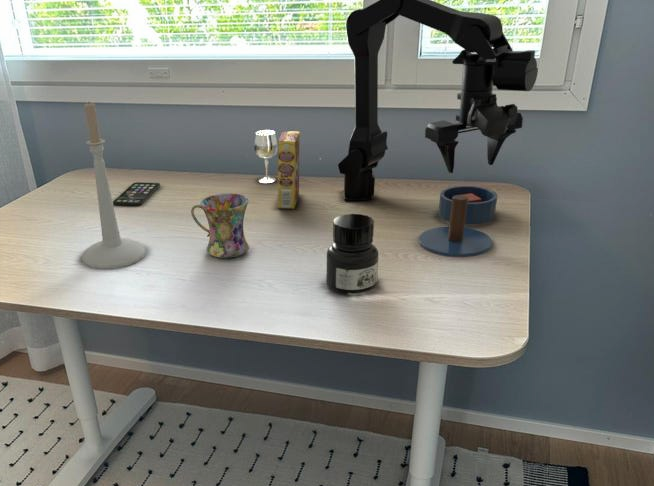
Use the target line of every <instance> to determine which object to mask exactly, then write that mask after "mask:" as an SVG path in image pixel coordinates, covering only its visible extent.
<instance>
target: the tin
mask: <svg viewBox="0 0 654 486" xmlns="http://www.w3.org/2000/svg"><path fill="white" fill-rule="evenodd" d="M470 193H472V194H474V195H476V196H477V197H479V198H481V199H482V201H481V202H477V203H467V211H466V219H465V225H469V226H471V225H481V224H486V223H489V222H491V221H492V220H494V218H495V215H496V209H497V203H498V197H499V195H498V194H497V192H496V191H494V190H492V189H490V188H487V187H483V186H475V185H457V186H456V185H455V186H451V187H447V188H444V189H442V190H441V191H440V193H439V199H438V200H439V201H438V210H437V215H438V216H439V218H440V219H442V220H443V221H445V222H448V223H450V216H451V207H452V199H453V196H455V195H463V194H470Z"/></svg>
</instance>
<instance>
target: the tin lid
mask: <svg viewBox="0 0 654 486" xmlns="http://www.w3.org/2000/svg"><path fill="white" fill-rule="evenodd" d="M467 203H468V197H467V196H464V195H455V196H453V199H452V207H451V216H450V222H449V226H439V227H433V228H430V229H427V230H425V231H423V232H422V233H420V235H419V236H418V243H419V245H420V247H422V248H423V249H424V250H426V251H428V252H430V253H432V254H437V255H441V256H447V257H457V258H458V257H459V258H461V257H473V256H479V255H482V254H484V253H487V252H488V251H490V249H492V246H493V239H492V238H491V236H490V235H489V234H487V233H485V232H484V231H481V230H478V229H474V228H470V227H465V225H466V224H465V219H466V211H467Z"/></svg>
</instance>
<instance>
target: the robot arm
mask: <svg viewBox="0 0 654 486" xmlns="http://www.w3.org/2000/svg"><path fill="white" fill-rule="evenodd" d="M399 16H401V17H404V18H406V19H408V20H410V21H413V22H415V23H419V24H421V25H423V26H426V27H429V28H431V29H434V30H436V31H439V32H441V33H443V34H445V35H447V36H448V37H449V38H450V39H451V41H453V43H455V44H456V45H457V46H459V47H460V48H462V50H461V51H460V53H459V54H458V55H456V57H455V58H454V59H453V60H452V61H451V63H452V64H453V65H462V76H461V77H462V78H461V80H462V81H461V91H460V92H459V93H456V95H457V96H456V100H460V107H459V114H456V115H455V121H457V123H452V122H450V121H447V120H438V121H434V122H428V124H427V125H426V127H425V130H424V138H425V139H428V140H430V141H431V142H432V143H435V144H436V146H437V148H438V150H439V152H440V154H441V156H442V158H443V159H442V160H443V162H444V164H445V166H446V169H447V171H448V173H449V174H453V173H454V169H455V154H456V153H455V152H456V148H457V146H458V144H459V141H458V140H456V139H457V138H458V137H459V134H463V133H467V132H473V131H480V133H481V135H482V136H484V137H487V139H486V141H487V144H486V145H487V146H486V147H487V148H486V149H487V151H486V153H487V157H486V158H487V164H488V165H489V166H493V165H494V163H495V161H496V159H497V156H498V154H499V152H500V150H501V148H502V146H503V144H504V142H505V141H506V139H507V138H509V137H510V136H511V135H513V134H515V133H517V130H518V129H522V128H523V125H524V124H523V123H524V117H523V115H522V113H521V112H519V111H518V106H517V105H516V104H515V103H510V104H505V105H500V106H499V105H498V103H497V101H498V100H497V99H498V97H497V94H496V93H493V90H494V89H493V88H494V87H496V89H497V90H499V91H518V92H530V91H532V90H533V88H534V87H535V84H536V81H537V79H538V78H537V77H538V72H539V68H538V63H537V59H536V57H535V55H536V50H534V49H533V50H529V49H528V50H524V51H521V50H520V51H519V50H517V51H516V50H515V51H513V48H512V46H511V45H510V42H509V41H508V39H507V37H506V35H505V34H504V31H503V24H502V20H501V18H499V17H498V16H497V15H494V14H489V13H484V12H483V13H482V12H474V11H473V12H472V11H463V10H459V9H455V8H452V7H450V6H447V5H445V4H442V3H440V2H437V1H434V0H378V1H375V2H373V3H371V4H370V5H367V6H366V7H364V8H360V9H355V10H353V11H352V12H350V14H349V15H348V16H347V18H346V20H345V30H346V38H347V44H348V46H349V48H350V50H351V52H352V54H353V59H354V112H355V113H354V116H355V117H354V118H355V121H354V122H355V124H354V129H353V131H352V134H351V136H350V139H349V142H348V143H349V144H348V152H347V155H346V156H344V158H343V159H342V160H341V161H340V162H339V163H337V167H338V171H339V173H340V174H341V175H344V176H343V177H344V178H343V179H344V180H343V190H342V195H343V200H344V201H347V202H349V201H373V196H375V187H376V186H375V182H376V176H375V175H374V174H373V169H376V168H377V167H378V165H379V162H380V161H381V160H382V159H383V158H384V157H385V155H386V150H389V148H388V143H387V140H388V131H386V130H385V131H382V130H381V127H380V126H379V122H378V121H379V120H378V119H379V117H378V115H379V113H378V112H379V111H378V110H379V107H378V106H379V105H378V103H379V100H378V99H379V98H378V97H379V95H378V93H379V92H378V91H379V89H378V88H379V82H378V81H379V52H380V49H381V47H382V45H383V42H384V39H385V34H386V28H387V26H388V25H389V24H390V23H392V22H393V21H395V20H396V19H397V18H398V17H399Z"/></svg>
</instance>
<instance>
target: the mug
mask: <svg viewBox="0 0 654 486" xmlns="http://www.w3.org/2000/svg"><path fill="white" fill-rule="evenodd" d="M248 204H249V198H248V197H247V196H246V195H243V194H240V193H231V192H230V193H229V192H228V193H227V192H225V193H216V194H212V195H209V196H206V197H204V198H203V199H202V200H201V201H200V204H196V205H193V206H192V207H191V208H190V213H191V214H190V215H191V216H192V219H193V221H194V222H195V223H196V224H197V226H198V227H199V228H200V229H202V230H203V231H205V232H206V233H208V234H207V235H206V237H207V238H209V240H208V243H207V246H206V252H207V254H209V255H211V256H212V257H216V258H221V259H222V258H223V259H230V258H235V257H239V256H242V255H244V254H245V253H247V252H248V250H249V248H250V245H249V243H248V242H247V239H246V236H245V231H244V218H245V215H246V210H247V207H248ZM196 208H199V209H201V210H203V212H204V215H205V217H206V220H207V223H208V228H209V229H208V228H207V227H205V226H204V225H203V224H202V223H201V222H200V221H199V220H198V218H197V217H196V215H195V211H194V210H195V209H196Z"/></svg>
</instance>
